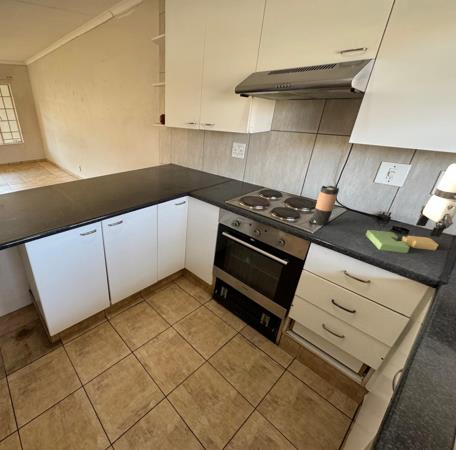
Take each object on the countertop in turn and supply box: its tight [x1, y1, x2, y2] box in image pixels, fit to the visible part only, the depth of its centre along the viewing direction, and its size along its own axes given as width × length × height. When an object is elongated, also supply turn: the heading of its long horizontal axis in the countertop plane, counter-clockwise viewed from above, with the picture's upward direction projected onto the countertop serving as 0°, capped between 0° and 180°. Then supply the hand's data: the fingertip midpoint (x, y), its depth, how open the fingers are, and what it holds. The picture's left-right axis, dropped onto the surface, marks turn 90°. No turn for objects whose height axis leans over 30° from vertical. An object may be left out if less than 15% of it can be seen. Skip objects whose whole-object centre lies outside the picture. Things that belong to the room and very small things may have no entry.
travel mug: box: [312, 185, 340, 227], centre depth 129 cm, size 8×8×20 cm
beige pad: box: [400, 235, 440, 251], centre depth 111 cm, size 11×6×3 cm, turn 73°
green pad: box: [365, 229, 411, 254], centre depth 113 cm, size 10×14×3 cm
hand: (427, 230), depth 109 cm, fingers open, 9 cm apart
